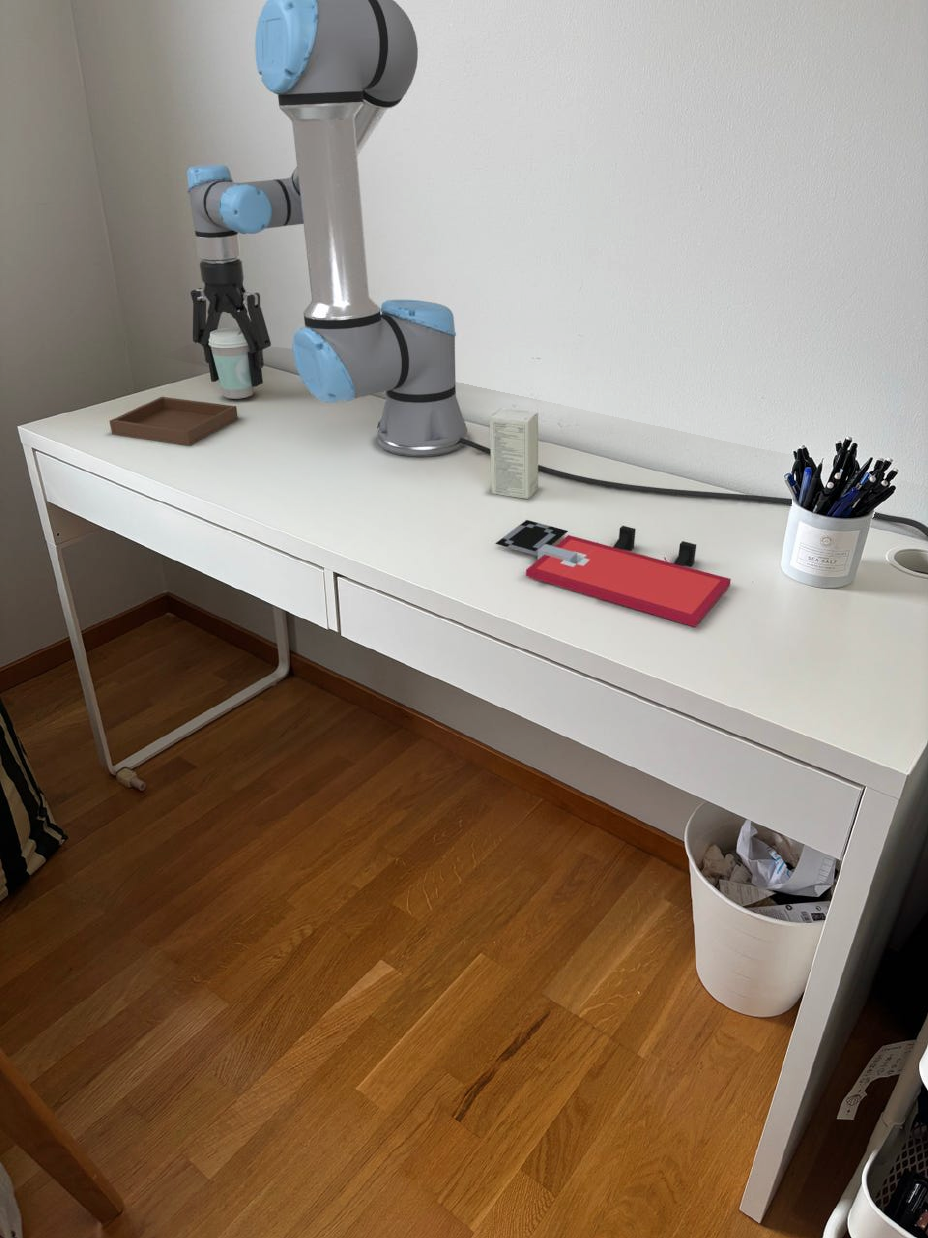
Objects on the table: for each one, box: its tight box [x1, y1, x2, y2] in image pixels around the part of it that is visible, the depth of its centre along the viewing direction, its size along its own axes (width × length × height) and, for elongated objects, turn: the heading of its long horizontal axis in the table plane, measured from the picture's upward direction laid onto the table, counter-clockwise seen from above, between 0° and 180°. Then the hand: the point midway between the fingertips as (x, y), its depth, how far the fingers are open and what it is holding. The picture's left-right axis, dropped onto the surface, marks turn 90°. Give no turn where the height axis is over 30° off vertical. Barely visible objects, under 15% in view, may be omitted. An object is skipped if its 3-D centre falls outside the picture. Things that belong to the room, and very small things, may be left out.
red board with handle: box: [494, 519, 732, 628], centre depth 122 cm, size 30×3×15 cm
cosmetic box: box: [489, 408, 539, 500], centre depth 141 cm, size 6×4×12 cm
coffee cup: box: [209, 326, 255, 400], centre depth 183 cm, size 8×8×12 cm
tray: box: [109, 396, 239, 447], centre depth 171 cm, size 17×15×2 cm
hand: (237, 382), depth 185 cm, fingers closed on coffee cup, 9 cm apart
